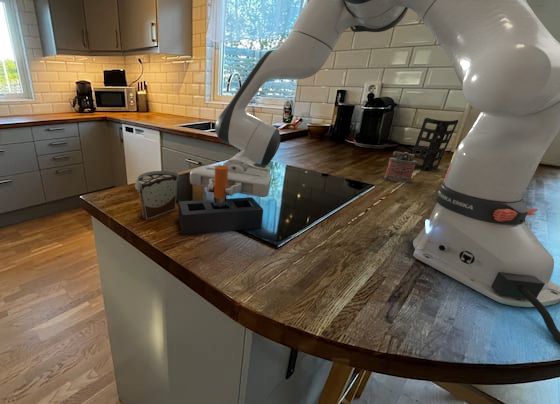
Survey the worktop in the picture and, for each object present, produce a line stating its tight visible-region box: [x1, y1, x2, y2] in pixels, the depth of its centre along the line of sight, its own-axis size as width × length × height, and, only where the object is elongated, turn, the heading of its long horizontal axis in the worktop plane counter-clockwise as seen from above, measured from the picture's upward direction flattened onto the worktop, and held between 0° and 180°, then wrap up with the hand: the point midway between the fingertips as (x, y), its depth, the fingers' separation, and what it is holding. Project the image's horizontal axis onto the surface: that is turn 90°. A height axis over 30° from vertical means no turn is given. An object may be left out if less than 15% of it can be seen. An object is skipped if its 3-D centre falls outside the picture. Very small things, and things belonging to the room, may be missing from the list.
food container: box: [134, 170, 180, 221], centre depth 76 cm, size 12×6×10 cm, turn 134°
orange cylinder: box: [212, 164, 228, 209], centre depth 69 cm, size 3×3×12 cm
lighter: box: [383, 151, 418, 183], centre depth 104 cm, size 8×3×10 cm, turn 58°
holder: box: [411, 117, 459, 172], centre depth 116 cm, size 11×8×20 cm
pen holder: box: [177, 196, 264, 236], centre depth 71 cm, size 8×19×5 cm, turn 101°
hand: (219, 190), depth 68 cm, fingers closed on orange cylinder, 3 cm apart
